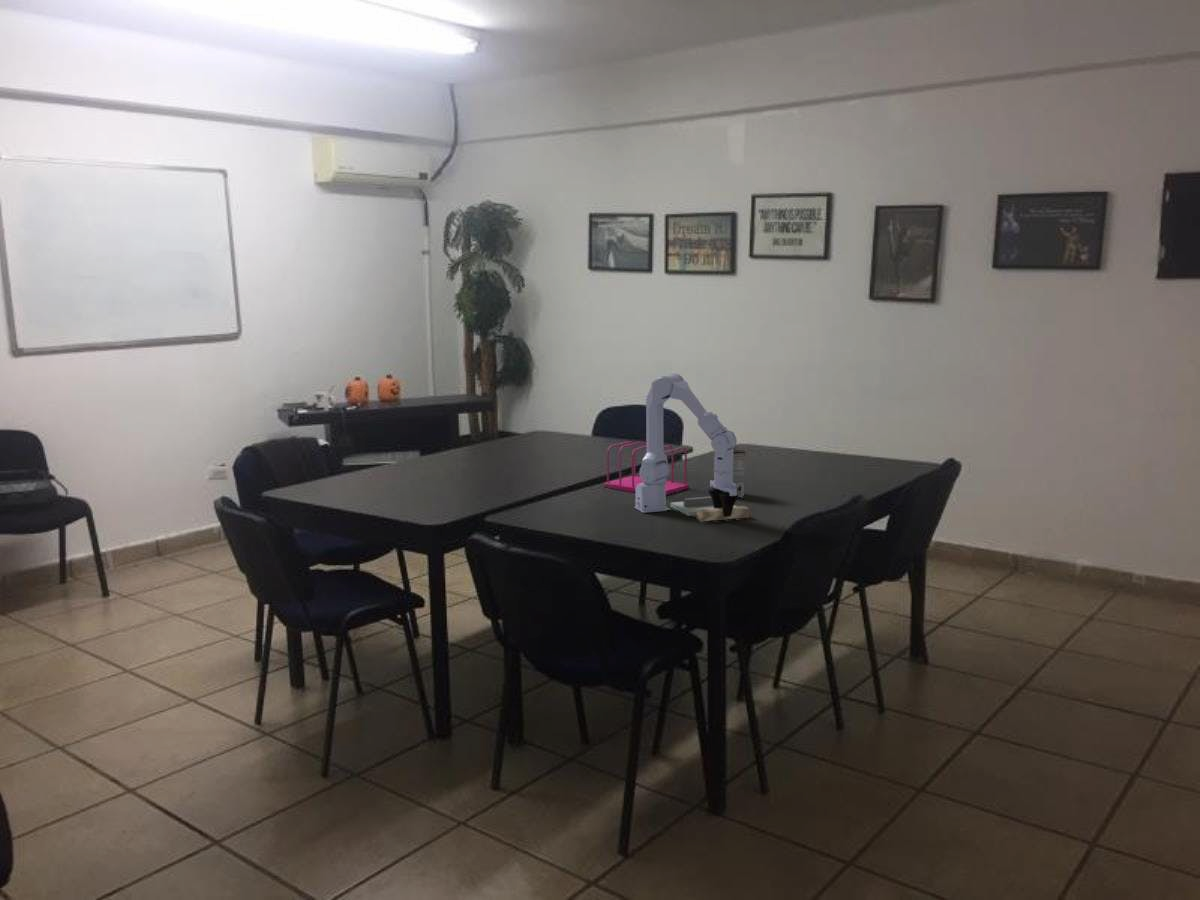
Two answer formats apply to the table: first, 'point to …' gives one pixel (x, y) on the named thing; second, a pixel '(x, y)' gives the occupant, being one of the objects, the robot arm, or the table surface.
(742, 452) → the coffee box
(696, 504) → the ridge stand
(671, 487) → the file sorter
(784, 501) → the table surface
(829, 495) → the table surface
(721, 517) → the tan wooden block
